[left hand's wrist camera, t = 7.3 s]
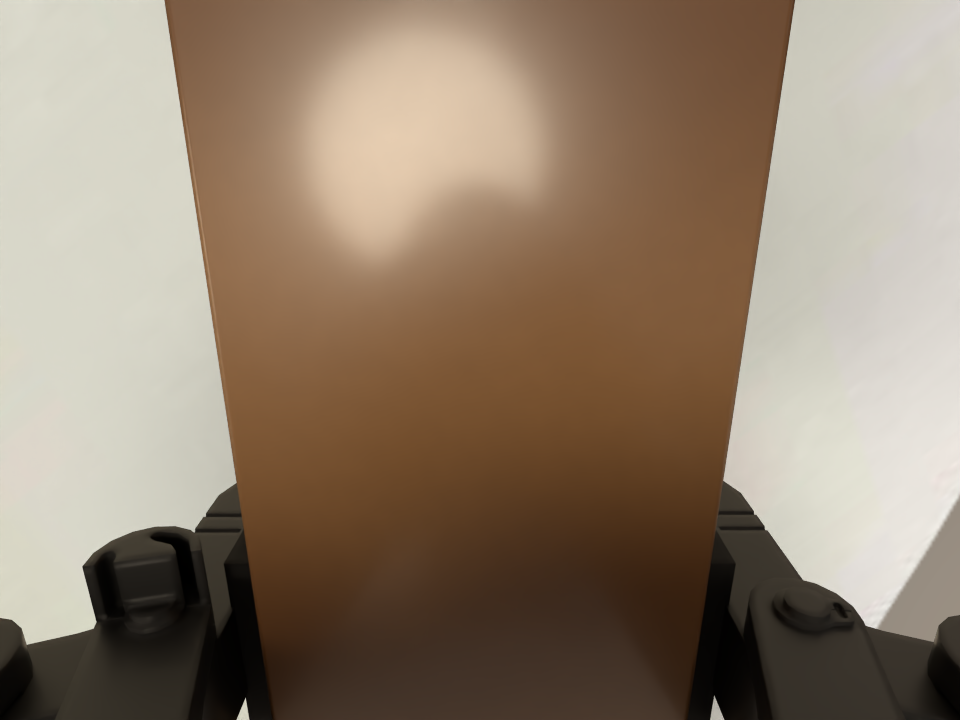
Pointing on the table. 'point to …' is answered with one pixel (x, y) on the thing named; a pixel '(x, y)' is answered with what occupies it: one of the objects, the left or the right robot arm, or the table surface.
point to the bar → (479, 335)
